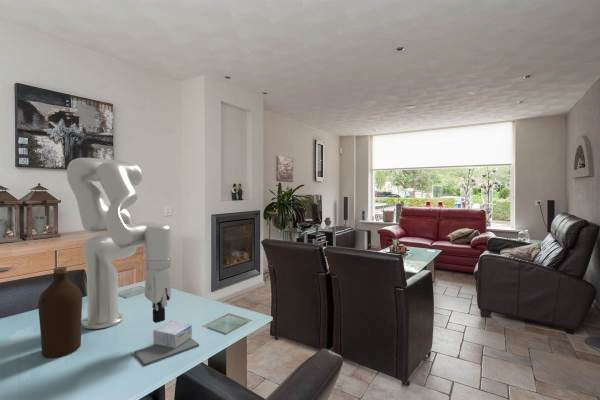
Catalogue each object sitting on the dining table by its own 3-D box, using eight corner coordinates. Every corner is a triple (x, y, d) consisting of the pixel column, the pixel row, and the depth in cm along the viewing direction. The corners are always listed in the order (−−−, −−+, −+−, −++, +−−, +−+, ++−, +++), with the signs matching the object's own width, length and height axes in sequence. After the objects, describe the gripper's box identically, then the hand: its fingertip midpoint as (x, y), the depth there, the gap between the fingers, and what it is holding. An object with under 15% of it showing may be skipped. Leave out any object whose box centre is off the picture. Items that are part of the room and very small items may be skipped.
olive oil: (75, 356, 93) (73, 271, 92) (31, 361, 90) (29, 273, 89) (88, 339, 103) (86, 262, 102) (49, 343, 100) (47, 264, 99)
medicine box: (152, 343, 99) (174, 349, 96) (152, 329, 99) (175, 334, 96) (171, 333, 106) (192, 337, 103) (171, 319, 106) (192, 324, 103)
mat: (134, 353, 95) (134, 351, 95) (186, 336, 106) (186, 334, 106) (144, 365, 88) (144, 363, 88) (199, 346, 99) (199, 344, 99)
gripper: (137, 261, 104) (138, 317, 104) (154, 270, 93) (155, 332, 94) (161, 258, 109) (161, 311, 109) (180, 266, 98) (180, 324, 99)
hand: (158, 320), depth 102 cm, fingers closed
